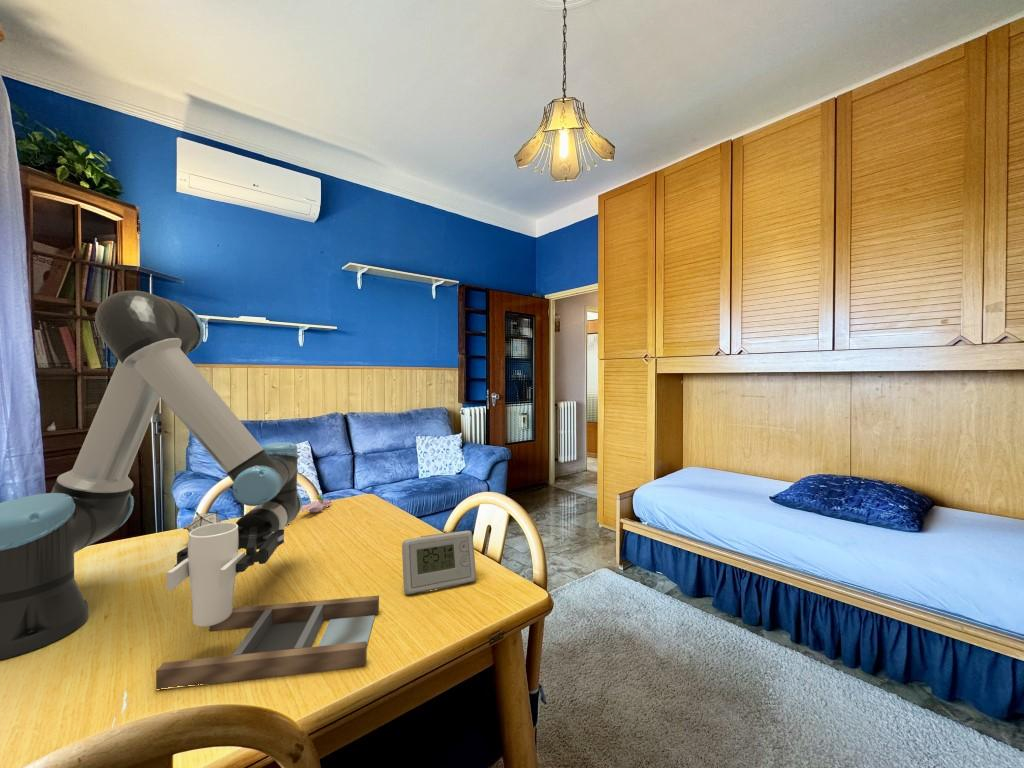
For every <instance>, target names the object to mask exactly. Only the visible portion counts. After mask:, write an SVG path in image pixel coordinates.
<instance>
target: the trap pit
mask: <svg viewBox="0 0 1024 768" xmlns="http://www.w3.org/2000/svg"><path fill="white" fill-rule="evenodd" d="M323 622H324V620H323V605H317V606H316V607H315V609H314V611H313V613H312V615H311V617H310V619H309V621H298V622H287V623H277V624H272V609H271V610H265V611H264V612H263V614H262V615H261V616H260V618H259V619H258V620H257V622H256V623H255V625H254V626H253V627H251V628H250V630H249V631H248V633H246V635H245V637H243V639H242V641H241V642H240V644H239V645H238V646H237V647H236V649H235V650H234V652H233V653H232V654H231V656H232V655H241V654H251V653H260V652H270V651H279V650H289V649H298V648H308V647H313V644H314V642H315V639H316V638H317V636H318V633H319V631H320V629H321V627H322V625H323Z"/></svg>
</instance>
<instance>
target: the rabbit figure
mask: <svg viewBox="0 0 1024 768" xmlns="http://www.w3.org/2000/svg"><path fill="white" fill-rule="evenodd" d="M316 498H317V500H314V501H312V502H310V503H308V504H307V505H302V507H301V510H300V512H304V511H305V512H310V513H314V512H317V511H319V512H321V511H322V510H323V509H324V508H323V507H327V506H329V507H330V506H331V504H330V503H332V504H333V501H332V500H326V499H324V498H323V497H322V494H321V493H319V494H318V496H317V497H316ZM331 501H332V502H331ZM317 513H318V512H317Z"/></svg>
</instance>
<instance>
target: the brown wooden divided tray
mask: <svg viewBox="0 0 1024 768" xmlns="http://www.w3.org/2000/svg"><path fill="white" fill-rule="evenodd" d="M317 605H323V621H329V622H328V623H327V626H326V628H325V630H324V633H323V634H322V638H321V639H320V642H319V644H318V646H311V647H308V648H298V649H289V650H279V651H270V652H260V653H251V654H241V655H232V654H231V655H225V656H224V655H223V656H214V657H206V658H205V657H204V658H195V659H186V660H178V661H177V660H176V661H166V662H163V663H162V664H161V665H159V667H158V668H156V669H155V688H156V689H161V688H168V687H177V686H188V685H198V684H199V685H200V684H204V685H203V686H206V685H205V684H209V685H217V684H218V685H219V684H226V683H225V682H227V683H235V682H242V681H250V680H251V681H253V680H259V679H267V678H278V677H286V676H294V675H303V674H304V675H305V674H311V673H313V674H314V673H321V672H330V671H337V670H348V669H353V668H356V669H357V668H361V667H362V668H363V667H366V663H367V660H368V657H367V655H368V650H367V649H368V648H367V647H368V643H369V641H370V636H371V632H372V628H373V626H374V620H375V617H376V616H379V612H380V595H369V596H367V595H366V596H357V597H344V598H334V599H322V600H311V601H299V602H286V603H285V602H284V603H276V604H264V605H263V604H262V605H252V606H242V607H241V606H240V607H233V610H232V613H231V615H230V616H229V617H228V618H227V619H226V620H224V621H222V622H220V623H218V624H215V625H212V626H208V628H209V632H214V631H224V630H225V631H226V630H235V629H236V630H238V629H246V628H252V627H253V626H254V625H255V623H256V622H257V620H258V619H259V618H260V616H261V615H262V614H263V612H264V611H265V610H271V609H272V624H277V623H287V622H298V621H309V619H310V617H311V615H312V613H313V611H314V609H315V607H316V606H317ZM232 681H233V682H232ZM234 681H235V682H234ZM156 689H155V690H156Z"/></svg>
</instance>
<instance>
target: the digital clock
mask: <svg viewBox="0 0 1024 768" xmlns="http://www.w3.org/2000/svg"><path fill="white" fill-rule="evenodd" d="M401 550H402V551H401V552H402V555H401V556H402V558H401V559H402V576H403V579H402V580H403V582H402V583H403V591H404V592H403V593H405V595H413V594H417V593H421V594H423V593H422V592H425V593H428V592H427V591H430V590H435V589H440V590H443V589H442V588H445V589H447V588H446V587H450V588H452V587H451V586H455V587H457V586H456V585H460V584H461V585H463V584H469V582H470V583H472V582H475V581H476V579H477V569H476V568H477V567H476V559H475V558H476V557H475V546H474V537H473V532H472V531H471V530H463V531H462V530H461V531H449V532H444V533H443V532H442V533H436V534H430V535H429V534H428V535H422V536H421V535H420V537H414V538H407V539H405V540H403V541H402V543H401ZM461 585H460V586H461ZM435 591H436V590H435ZM430 592H431V591H430Z"/></svg>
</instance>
